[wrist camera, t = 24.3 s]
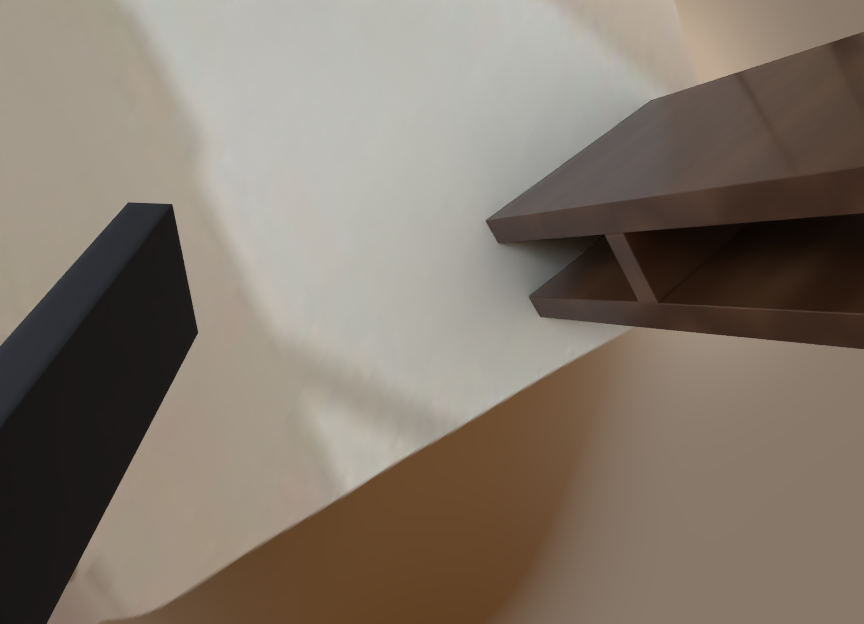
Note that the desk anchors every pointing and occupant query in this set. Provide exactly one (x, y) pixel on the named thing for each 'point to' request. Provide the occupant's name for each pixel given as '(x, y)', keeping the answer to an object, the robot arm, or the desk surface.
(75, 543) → the robot arm
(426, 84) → the desk surface
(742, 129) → the shelf
